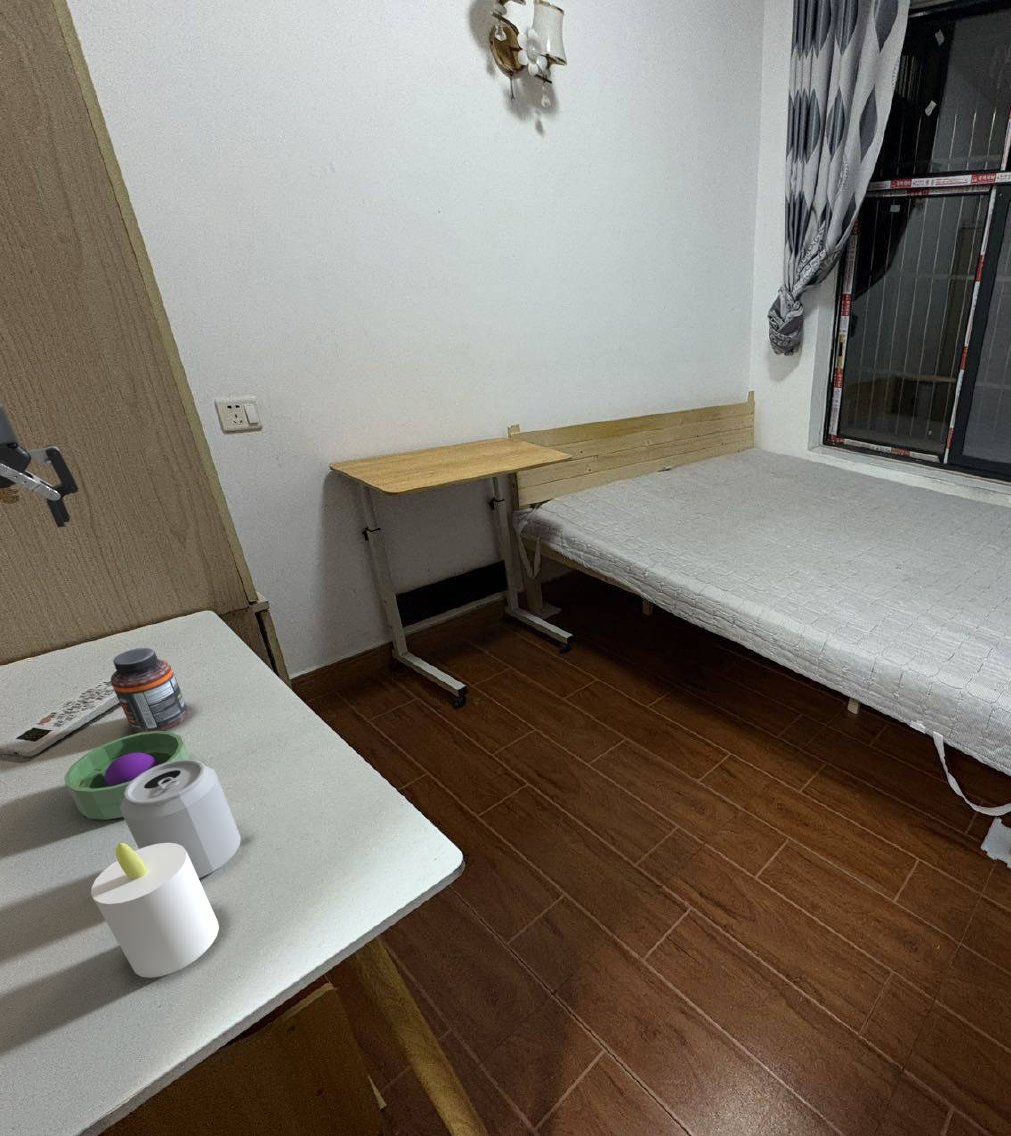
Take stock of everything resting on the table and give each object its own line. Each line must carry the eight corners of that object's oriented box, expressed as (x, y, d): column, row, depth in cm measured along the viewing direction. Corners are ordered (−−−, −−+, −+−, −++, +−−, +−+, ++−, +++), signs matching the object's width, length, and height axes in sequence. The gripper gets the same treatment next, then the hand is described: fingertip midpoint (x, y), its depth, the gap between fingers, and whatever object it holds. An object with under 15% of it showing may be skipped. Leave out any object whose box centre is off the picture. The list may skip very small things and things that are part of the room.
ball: (102, 802, 73) (87, 773, 71) (132, 773, 77) (118, 745, 75) (146, 800, 74) (132, 771, 72) (173, 771, 78) (160, 744, 76)
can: (224, 822, 73) (193, 743, 68) (256, 852, 70) (225, 772, 64) (141, 867, 67) (101, 784, 62) (172, 903, 64) (131, 819, 58)
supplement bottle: (126, 723, 86) (96, 655, 81) (181, 703, 90) (155, 638, 85) (140, 742, 83) (109, 673, 78) (196, 721, 87) (170, 654, 82)
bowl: (55, 826, 70) (37, 793, 68) (125, 761, 80) (111, 731, 78) (157, 821, 72) (142, 789, 70) (214, 759, 81) (203, 729, 79)
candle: (222, 903, 64) (176, 796, 58) (216, 957, 59) (165, 847, 53) (139, 933, 61) (81, 823, 54) (126, 992, 56) (61, 880, 49)
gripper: (40, 395, 79) (88, 513, 86) (-147, 403, 69) (-76, 536, 76) (44, 406, 74) (94, 529, 81) (-155, 417, 65) (-79, 556, 71)
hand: (12, 533), depth 79 cm, fingers open, 8 cm apart
